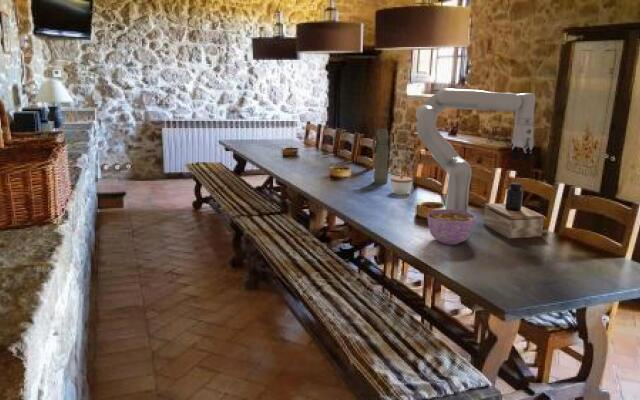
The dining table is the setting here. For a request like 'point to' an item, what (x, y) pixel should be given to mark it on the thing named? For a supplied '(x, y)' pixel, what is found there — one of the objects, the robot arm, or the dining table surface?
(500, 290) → the dining table surface
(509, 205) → the supplement bottle
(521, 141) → the robot arm
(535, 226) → the box
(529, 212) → the lid
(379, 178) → the thermos
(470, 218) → the bowl of food
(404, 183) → the lidded bowl
